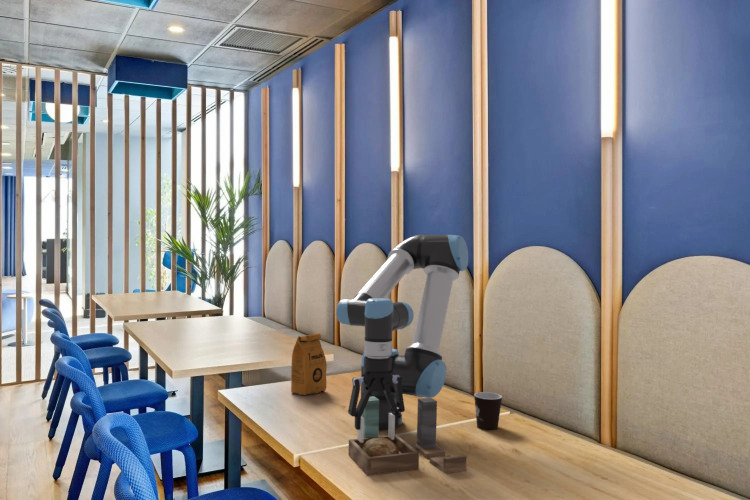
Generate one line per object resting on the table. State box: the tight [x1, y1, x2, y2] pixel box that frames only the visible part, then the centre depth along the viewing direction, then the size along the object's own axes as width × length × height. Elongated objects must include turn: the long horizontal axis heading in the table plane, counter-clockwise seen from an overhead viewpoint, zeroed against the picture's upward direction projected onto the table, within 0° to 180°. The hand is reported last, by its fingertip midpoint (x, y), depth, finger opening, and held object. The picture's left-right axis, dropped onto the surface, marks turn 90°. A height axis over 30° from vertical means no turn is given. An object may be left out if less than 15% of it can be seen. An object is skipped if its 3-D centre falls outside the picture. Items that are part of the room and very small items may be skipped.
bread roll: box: [362, 438, 399, 457], centre depth 161 cm, size 10×10×8 cm
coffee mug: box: [473, 391, 503, 431], centre depth 194 cm, size 12×9×10 cm
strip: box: [429, 454, 467, 475], centre depth 159 cm, size 8×6×4 cm
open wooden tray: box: [348, 396, 420, 476], centre depth 164 cm, size 20×14×14 cm
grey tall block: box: [412, 397, 447, 459], centre depth 169 cm, size 8×6×14 cm
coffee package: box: [290, 332, 327, 396], centre depth 230 cm, size 10×12×22 cm
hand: (376, 439), depth 166 cm, fingers open, 8 cm apart
